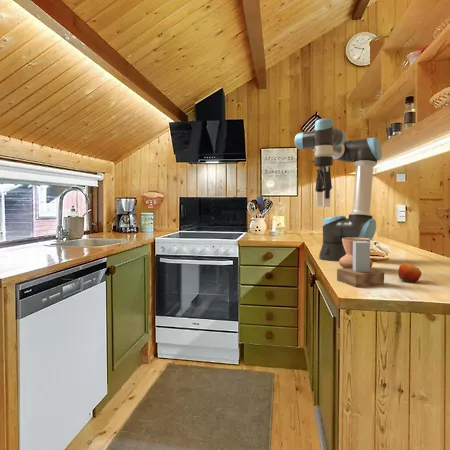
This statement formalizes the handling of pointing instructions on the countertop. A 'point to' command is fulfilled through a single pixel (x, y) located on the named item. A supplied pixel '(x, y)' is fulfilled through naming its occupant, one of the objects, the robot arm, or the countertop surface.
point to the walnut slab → (360, 277)
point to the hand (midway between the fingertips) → (322, 206)
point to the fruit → (409, 273)
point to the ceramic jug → (350, 252)
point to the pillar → (361, 256)
